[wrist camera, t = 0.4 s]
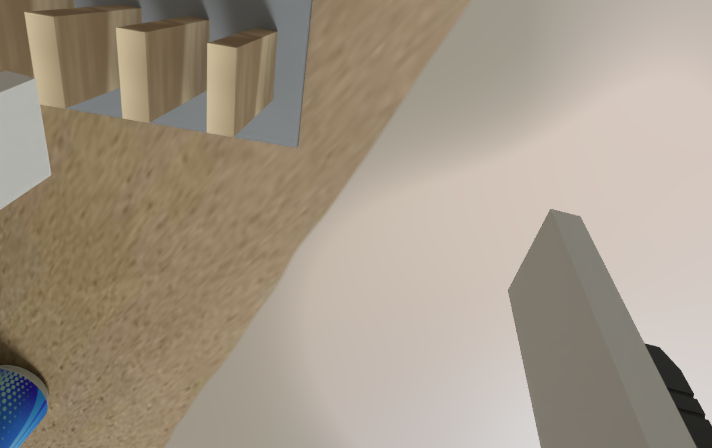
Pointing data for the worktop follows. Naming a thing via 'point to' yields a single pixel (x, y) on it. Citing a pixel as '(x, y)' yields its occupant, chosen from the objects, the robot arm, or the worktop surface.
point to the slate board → (227, 17)
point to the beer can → (20, 404)
